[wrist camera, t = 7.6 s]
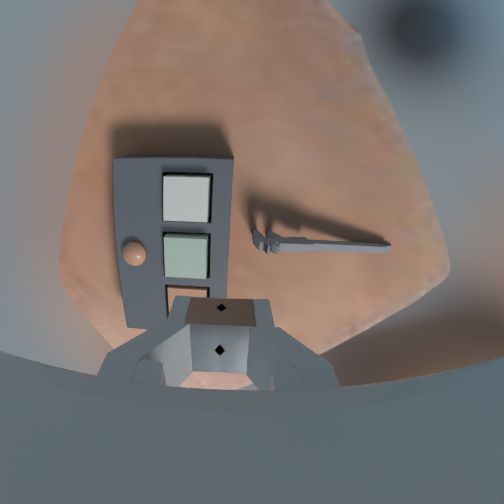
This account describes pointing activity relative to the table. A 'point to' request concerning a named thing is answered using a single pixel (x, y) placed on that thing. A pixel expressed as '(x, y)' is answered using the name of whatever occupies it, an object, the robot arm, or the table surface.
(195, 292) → the terracotta button
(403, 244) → the table surface
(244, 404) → the robot arm
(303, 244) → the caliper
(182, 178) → the white button
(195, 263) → the sage button
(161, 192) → the button panel
